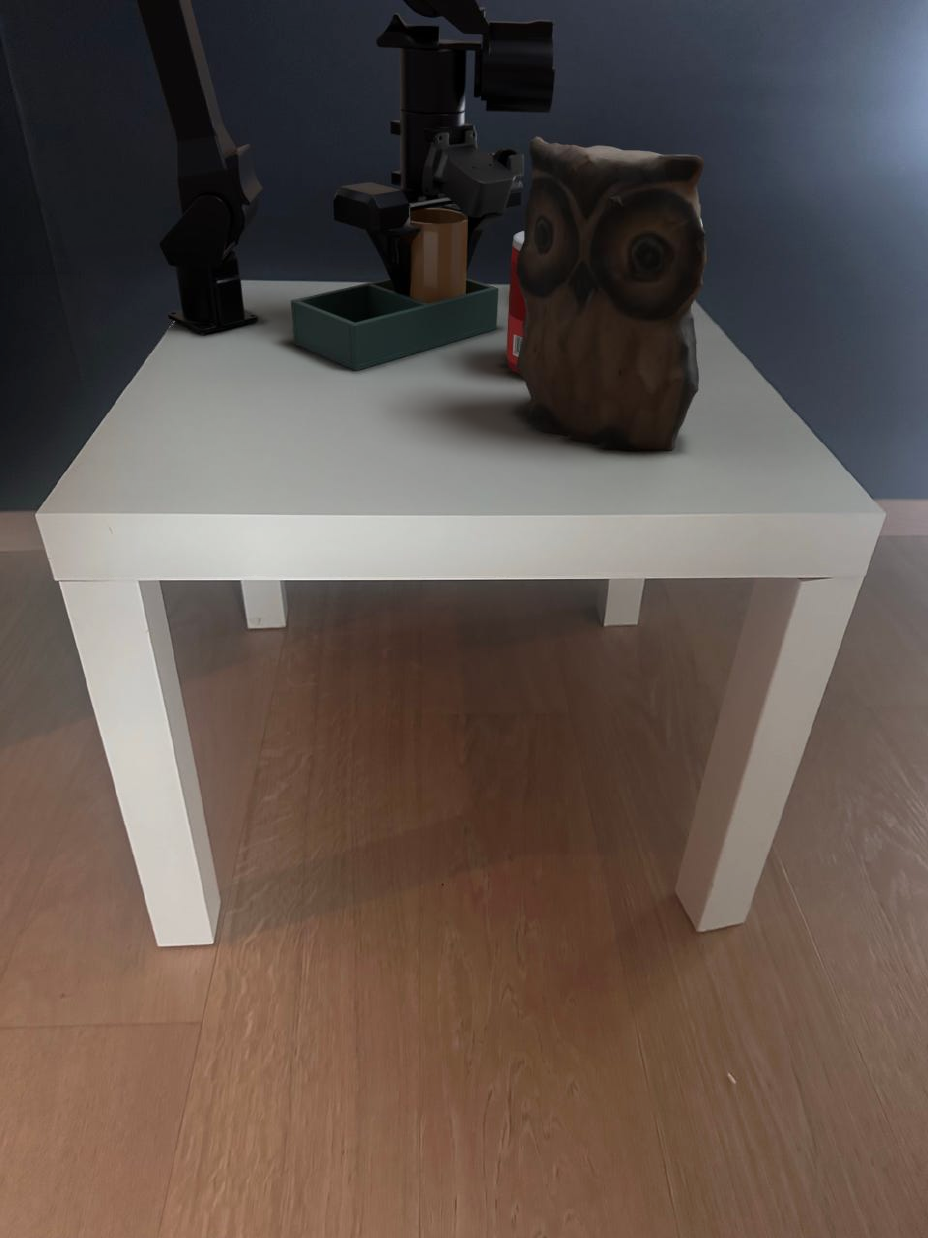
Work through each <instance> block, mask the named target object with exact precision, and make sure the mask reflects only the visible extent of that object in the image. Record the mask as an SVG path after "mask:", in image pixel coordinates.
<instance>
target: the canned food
mask: <svg viewBox="0 0 928 1238" xmlns="http://www.w3.org/2000/svg"><path fill="white" fill-rule="evenodd" d="M523 242H524V230H522V231H520V232H517V233H515V234H514V235H513V241H512V243H511V244H512V245H511V259H510V276H509V277H510V278H509V297H508V313H507V314H508V315H507V316H508V317H507V334H506V337H507V338H506V352H505V353H506V354H505V356H506V360H507V364H508V367H509V368H510V370H512V371H513V372H514V373H516V374H518V375H520V374H519V373H518V371H517V368H516V364H517V360H518V355H519V351H520V347H521V341H522V335H523V331H522V324H523V322H524V319H525V317H526V308H525V301H524V297H523V295H522V292H521V290H520V287H519V284H518V282H519V279H518V276H517V274H516V269H517V258H518V254H519V251H520V249H521V247H522V244H523Z"/></svg>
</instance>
